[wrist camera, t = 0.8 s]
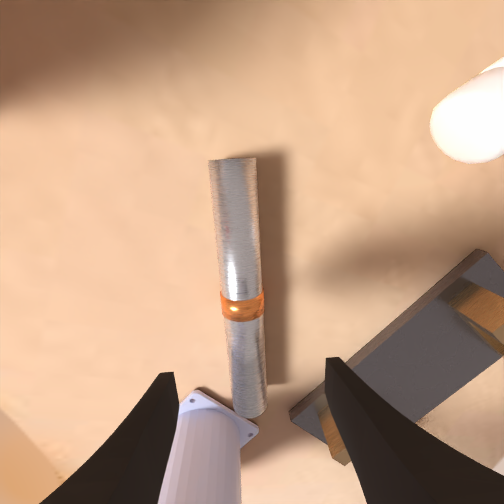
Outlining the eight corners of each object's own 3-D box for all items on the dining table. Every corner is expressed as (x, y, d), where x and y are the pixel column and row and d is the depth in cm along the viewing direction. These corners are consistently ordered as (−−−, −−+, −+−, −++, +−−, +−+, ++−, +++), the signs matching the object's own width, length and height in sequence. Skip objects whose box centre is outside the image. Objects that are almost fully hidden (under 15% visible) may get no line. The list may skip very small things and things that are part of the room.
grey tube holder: (354, 454, 28) (379, 513, 24) (288, 411, 26) (301, 467, 21) (534, 316, 24) (607, 354, 19) (476, 248, 21) (545, 272, 17)
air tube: (268, 387, 24) (269, 419, 21) (233, 388, 25) (229, 419, 22) (257, 158, 18) (257, 157, 15) (211, 160, 18) (201, 160, 15)
